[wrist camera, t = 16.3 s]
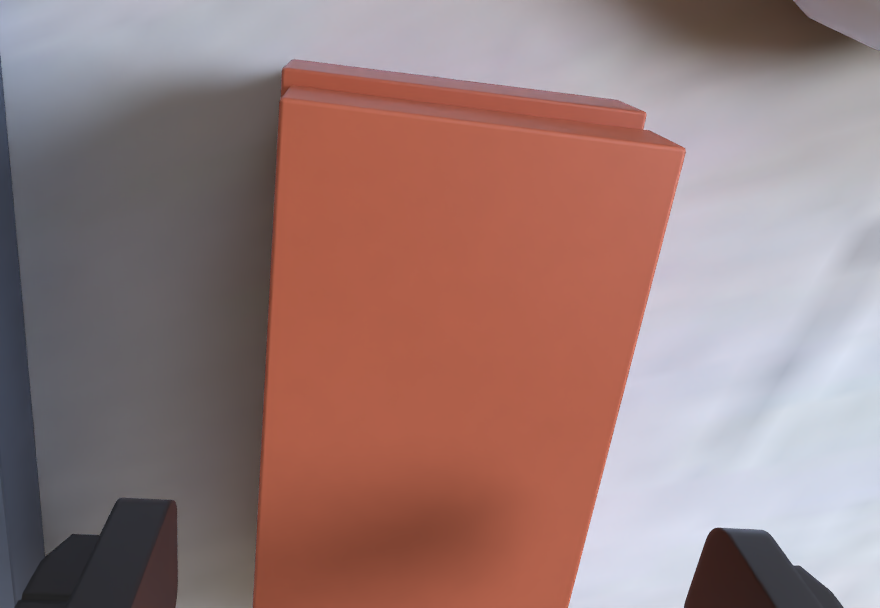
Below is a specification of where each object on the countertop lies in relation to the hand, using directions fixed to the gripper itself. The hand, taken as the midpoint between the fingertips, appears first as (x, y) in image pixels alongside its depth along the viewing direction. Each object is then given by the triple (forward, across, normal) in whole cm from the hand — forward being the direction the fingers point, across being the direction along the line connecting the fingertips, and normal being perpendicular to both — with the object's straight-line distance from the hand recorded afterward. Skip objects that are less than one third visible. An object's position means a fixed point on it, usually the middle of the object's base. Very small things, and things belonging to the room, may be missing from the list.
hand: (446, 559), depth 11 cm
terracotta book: (+4, 0, 0) cm, 4 cm away
